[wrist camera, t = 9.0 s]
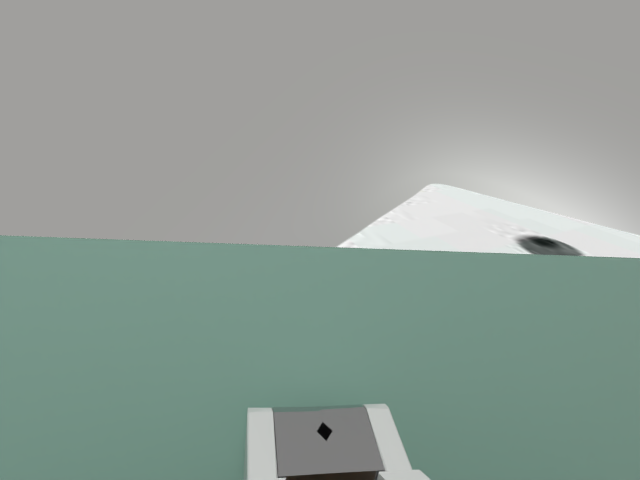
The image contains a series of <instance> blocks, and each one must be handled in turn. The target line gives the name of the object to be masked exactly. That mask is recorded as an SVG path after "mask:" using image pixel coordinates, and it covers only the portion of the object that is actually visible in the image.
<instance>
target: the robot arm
mask: <svg viewBox="0 0 640 480" xmlns="http://www.w3.org/2000/svg"><path fill="white" fill-rule="evenodd" d="M244 480H431V479H430V478H429V477H427V476H426V475H425V474H424V473H423V472H422V471H421V470H412V467H411V464H410V462H409V459H408V457H407V454H406V451H405V449H404V446H403V443H402V441H401V438H400V436H399V433H398V430H397V428H396V425H395V423H394V420H393V417H392V415H391V412H390V409H389V407H388V406H387V405H386V404H363V405H361V404H359V405H336V406H317V407H273V408H248V410H247V422H246V439H245V458H244Z"/></svg>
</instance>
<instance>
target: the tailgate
mask: <svg viewBox="0 0 640 480" xmlns="http://www.w3.org/2000/svg"><path fill="white" fill-rule="evenodd" d="M359 404H361V405H363V404H386V405H387V406H388V407H389V409H390V412H391V415H392V417H393V420H394V423H395V425H396V428H397V430H398V433H399V436H400V438H401V441H402V443H403V446H404V449H405V451H406V454H407V457H408V459H409V462H410V464H411V467H412V470H421V471H422V472H423V473H424V474H425V475H426V476H427V477H429V478H430V479H431V480H640V258H617V257H589V256H561V255H533V254H505V253H477V252H449V251H421V250H393V249H365V248H337V247H307V246H280V245H253V244H251V245H250V244H225V243H197V242H169V241H168V242H167V241H140V240H112V239H85V238H57V237H27V236H1V235H0V480H244V458H245V439H246V422H247V410H248V408H273V407H317V406H336V405H359Z"/></svg>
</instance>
